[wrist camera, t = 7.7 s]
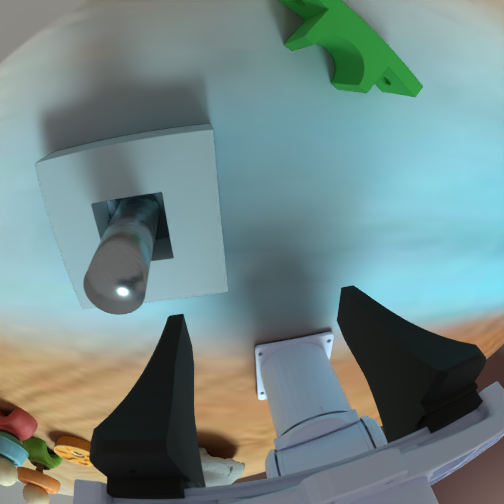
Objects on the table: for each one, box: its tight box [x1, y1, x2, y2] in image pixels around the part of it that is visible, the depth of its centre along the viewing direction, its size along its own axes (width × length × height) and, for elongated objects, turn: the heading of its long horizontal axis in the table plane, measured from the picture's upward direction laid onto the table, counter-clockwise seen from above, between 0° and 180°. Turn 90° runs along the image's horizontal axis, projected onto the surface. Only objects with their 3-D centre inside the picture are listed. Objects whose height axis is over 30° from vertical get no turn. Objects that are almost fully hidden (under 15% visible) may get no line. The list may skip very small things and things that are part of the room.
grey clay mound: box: [199, 448, 245, 487], centre depth 37 cm, size 12×12×11 cm
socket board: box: [35, 123, 228, 309], centre depth 20 cm, size 11×11×3 cm
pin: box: [83, 194, 160, 314], centre depth 17 cm, size 3×3×9 cm
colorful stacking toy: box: [0, 408, 93, 504], centre depth 29 cm, size 18×17×12 cm
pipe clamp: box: [278, 0, 423, 97], centre depth 16 cm, size 10×4×4 cm, turn 53°
